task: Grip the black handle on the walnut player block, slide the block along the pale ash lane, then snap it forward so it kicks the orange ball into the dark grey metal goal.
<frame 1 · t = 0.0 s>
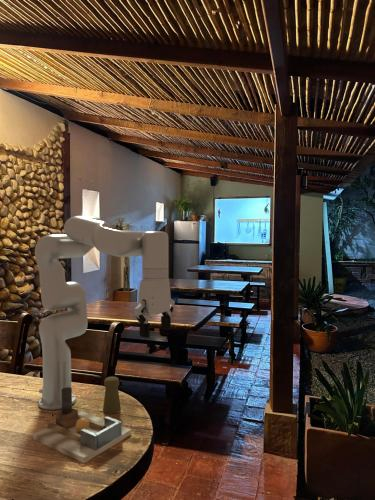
hand: (155, 333, 113), 31 cm above the table, tool pointing down, fingers open, 9 cm apart
ball: (82, 425, 115), point 3 cm above the table, touching lane board
goal: (101, 439, 111), resting on lane board
player block: (66, 406, 119), point 7 cm above the table, slide at 0.0 cm
lane board: (82, 436, 116), on the table
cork: (111, 409, 134), on the table
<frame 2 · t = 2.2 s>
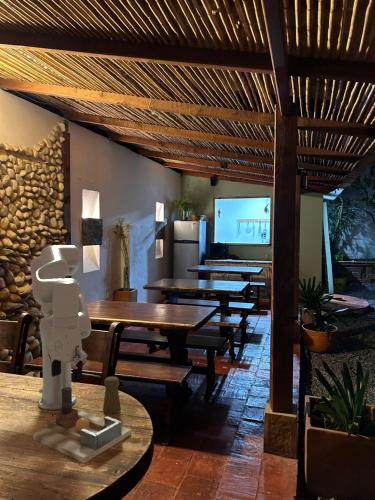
hand: (66, 378, 118), 16 cm above the table, tool pointing down, fingers open, 9 cm apart
nothing on the table moved.
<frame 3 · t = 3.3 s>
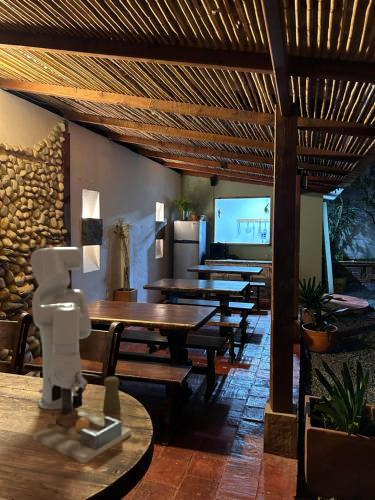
hand: (66, 403, 119), 8 cm above the table, tool pointing down, fingers open, 9 cm apart
nothing on the table moved.
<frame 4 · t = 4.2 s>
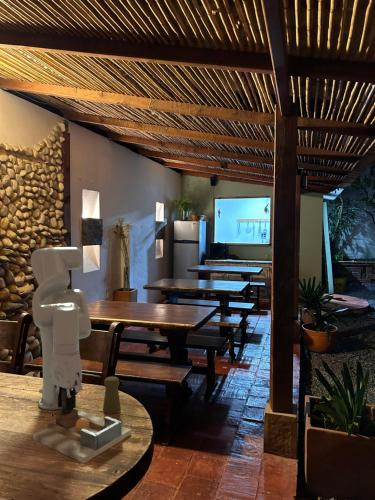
hand: (66, 406, 119), 7 cm above the table, tool pointing down, fingers closed on player block, 3 cm apart
player block: (66, 406, 119), point 7 cm above the table, slide at 0.0 cm, touching gripper
everything else where it was.
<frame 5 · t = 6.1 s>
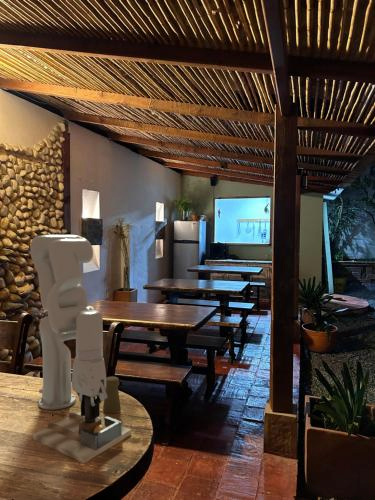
hand: (90, 415, 113), 7 cm above the table, tool pointing down, fingers closed on player block, 3 cm apart
ball: (100, 432, 111), point 3 cm above the table, tilted 142°, touching lane board
player block: (90, 415, 113), point 7 cm above the table, slide at 10.4 cm, touching gripper
everything else where it was.
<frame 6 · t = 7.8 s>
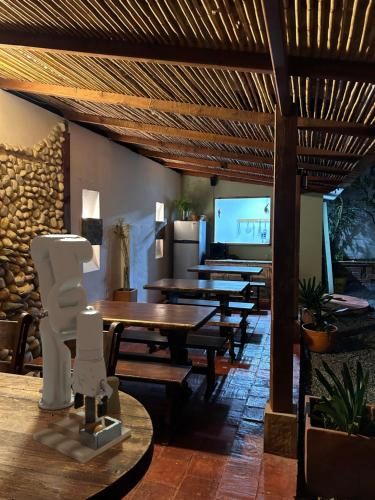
hand: (90, 411, 113), 8 cm above the table, tool pointing down, fingers open, 9 cm apart
player block: (90, 415, 113), point 7 cm above the table, slide at 10.5 cm
everything else where it was.
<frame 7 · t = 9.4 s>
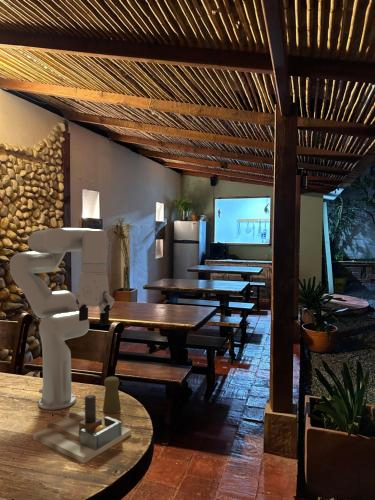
hand: (93, 322, 123), 32 cm above the table, tool pointing down, fingers open, 9 cm apart
ball: (101, 432, 111), point 3 cm above the table, tilted 134°, touching lane board
everything else where it was.
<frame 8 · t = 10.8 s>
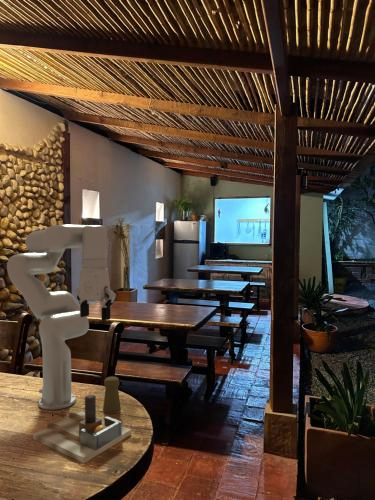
hand: (95, 318, 124), 33 cm above the table, tool pointing down, fingers open, 9 cm apart
nothing on the table moved.
at the end: ball 0.5 cm from the target spot, point 3.5 cm above the table; player block slide at 10.5 cm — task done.
